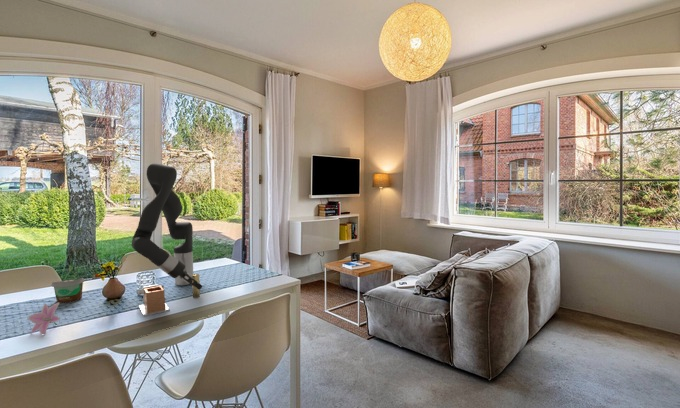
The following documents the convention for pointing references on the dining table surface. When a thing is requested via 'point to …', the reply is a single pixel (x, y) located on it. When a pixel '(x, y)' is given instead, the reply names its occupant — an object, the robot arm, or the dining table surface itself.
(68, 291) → the food container
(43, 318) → the lily
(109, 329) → the dining table surface
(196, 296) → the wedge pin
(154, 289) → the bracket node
